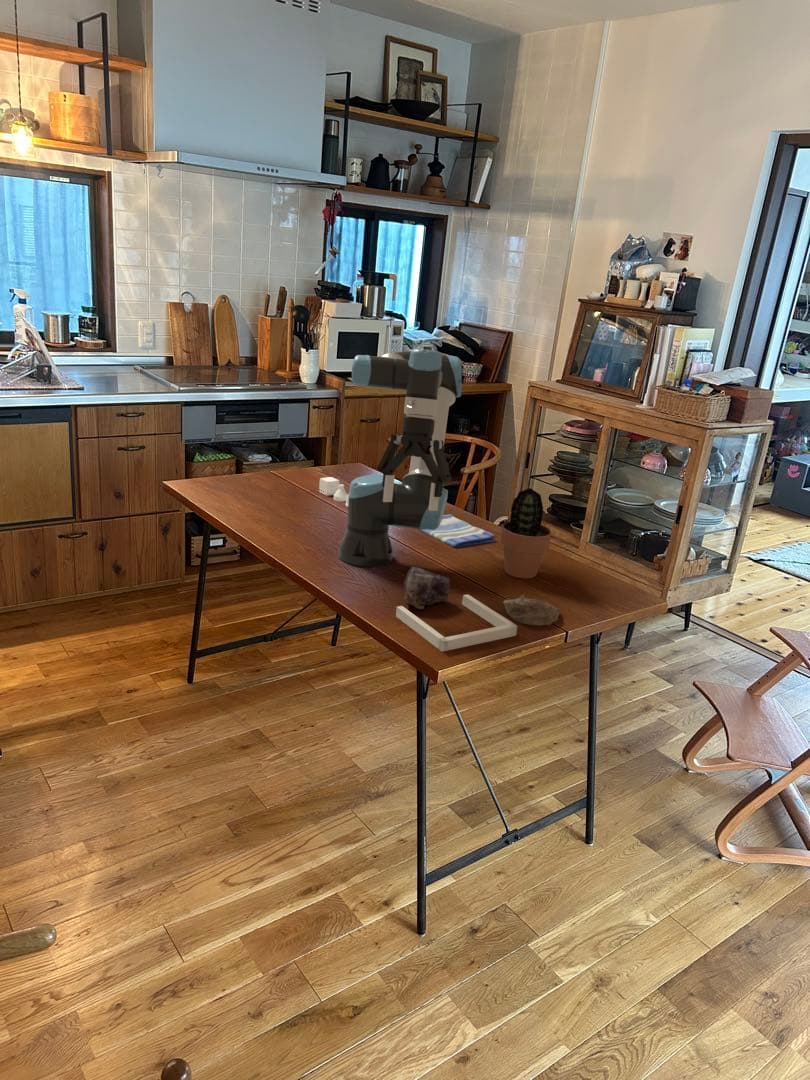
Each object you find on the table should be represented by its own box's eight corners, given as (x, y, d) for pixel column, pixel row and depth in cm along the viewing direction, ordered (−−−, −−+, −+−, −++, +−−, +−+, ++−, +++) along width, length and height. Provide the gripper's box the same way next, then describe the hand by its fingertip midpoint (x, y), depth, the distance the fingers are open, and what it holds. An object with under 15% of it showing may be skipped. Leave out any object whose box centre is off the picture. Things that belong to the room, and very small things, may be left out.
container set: (318, 493, 286) (319, 478, 285) (331, 491, 290) (331, 476, 288) (351, 509, 272) (352, 493, 270) (364, 507, 275) (365, 491, 274)
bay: (395, 616, 194) (396, 606, 194) (466, 603, 205) (467, 594, 204) (441, 651, 179) (443, 641, 178) (515, 635, 190) (517, 625, 189)
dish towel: (450, 520, 271) (451, 512, 270) (497, 543, 253) (498, 534, 252) (408, 525, 261) (408, 517, 261) (453, 550, 244) (454, 541, 243)
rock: (450, 611, 203) (425, 594, 211) (459, 578, 201) (434, 562, 209) (411, 612, 196) (387, 595, 204) (420, 578, 194) (395, 561, 201)
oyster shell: (566, 628, 197) (570, 606, 195) (507, 625, 196) (510, 603, 194) (554, 608, 208) (558, 587, 206) (498, 606, 206) (501, 584, 204)
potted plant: (554, 575, 229) (568, 490, 221) (524, 585, 220) (537, 497, 212) (516, 560, 238) (528, 477, 230) (486, 569, 229) (497, 484, 221)
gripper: (368, 411, 196) (359, 498, 199) (454, 420, 182) (444, 514, 185) (387, 413, 202) (378, 498, 205) (472, 422, 188) (461, 513, 191)
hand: (409, 506), depth 195 cm, fingers open, 13 cm apart
